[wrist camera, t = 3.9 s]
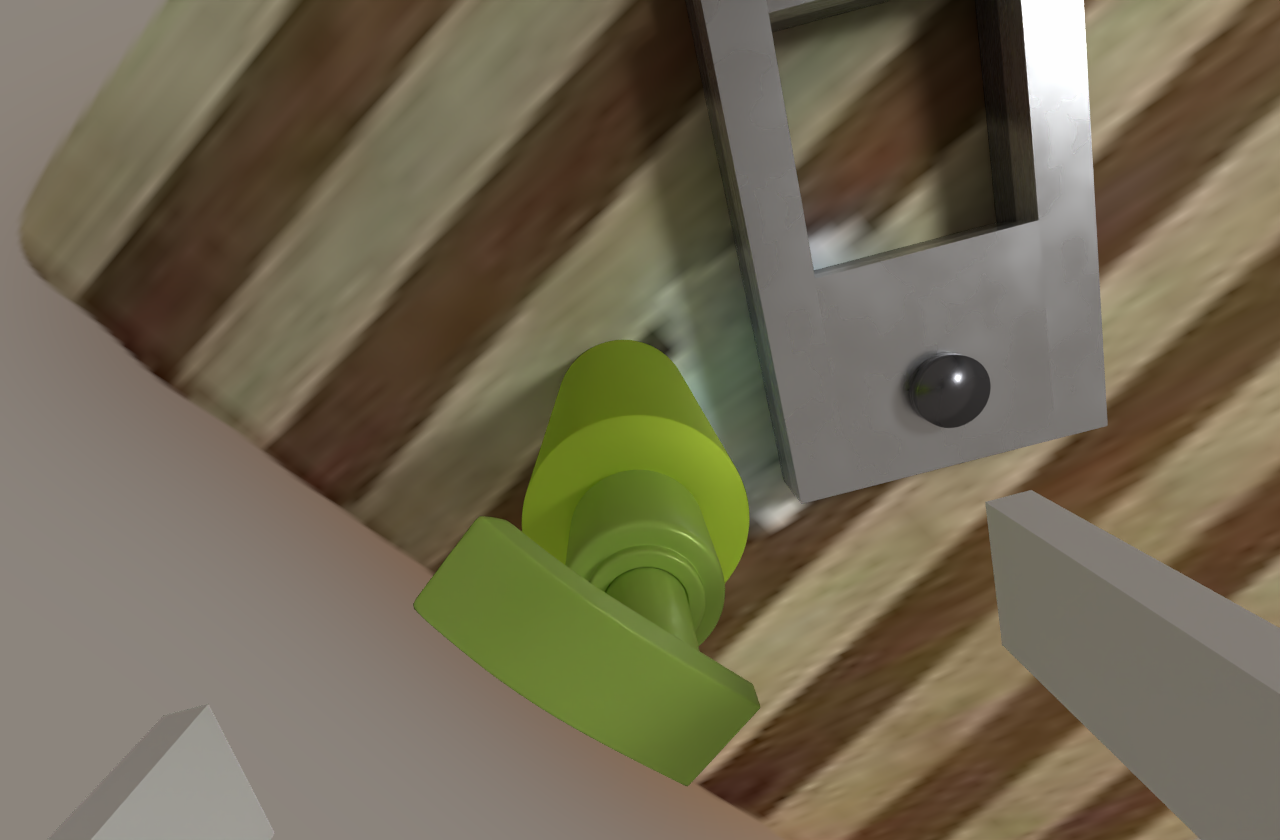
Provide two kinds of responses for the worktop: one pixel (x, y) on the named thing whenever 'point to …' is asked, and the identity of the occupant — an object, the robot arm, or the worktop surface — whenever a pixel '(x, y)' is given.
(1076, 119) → the upper link
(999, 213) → the lower link
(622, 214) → the worktop surface
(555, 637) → the soap dispenser
